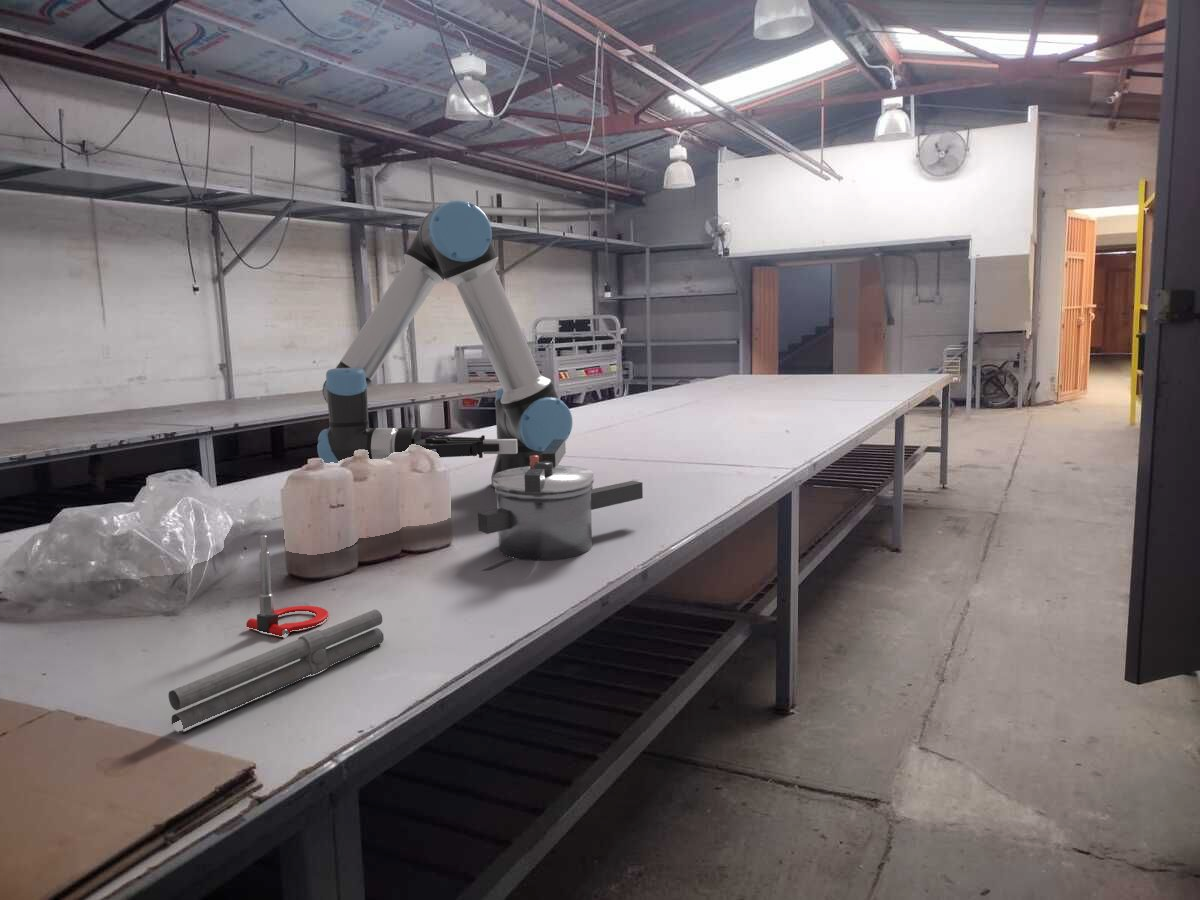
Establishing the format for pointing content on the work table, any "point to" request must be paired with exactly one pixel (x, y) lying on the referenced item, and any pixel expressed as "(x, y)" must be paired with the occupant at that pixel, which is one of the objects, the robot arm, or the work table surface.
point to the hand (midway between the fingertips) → (516, 446)
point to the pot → (551, 520)
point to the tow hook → (268, 615)
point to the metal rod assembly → (305, 649)
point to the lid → (544, 474)
